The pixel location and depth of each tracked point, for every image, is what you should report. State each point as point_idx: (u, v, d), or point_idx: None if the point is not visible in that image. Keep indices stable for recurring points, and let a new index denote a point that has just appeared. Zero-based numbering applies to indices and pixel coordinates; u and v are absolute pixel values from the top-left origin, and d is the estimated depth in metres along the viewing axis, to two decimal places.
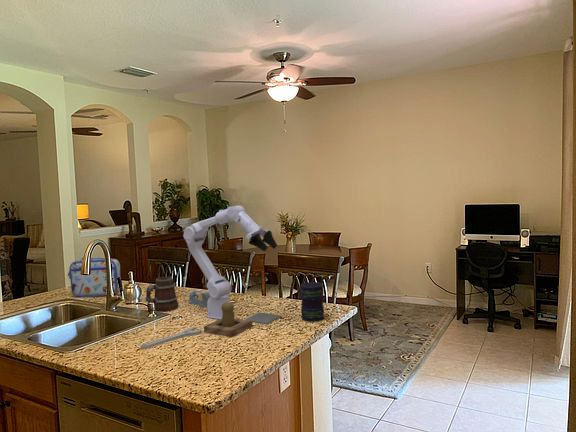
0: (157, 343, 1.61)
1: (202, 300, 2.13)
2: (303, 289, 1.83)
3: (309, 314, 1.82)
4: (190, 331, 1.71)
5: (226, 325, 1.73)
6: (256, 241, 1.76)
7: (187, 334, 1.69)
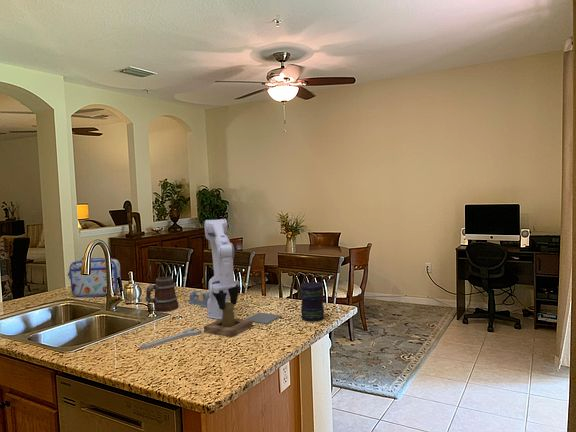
0: (157, 343, 1.60)
1: (202, 300, 2.12)
2: (303, 289, 1.83)
3: (309, 314, 1.82)
4: (190, 331, 1.71)
5: (226, 325, 1.73)
6: (220, 296, 1.71)
7: (187, 334, 1.69)
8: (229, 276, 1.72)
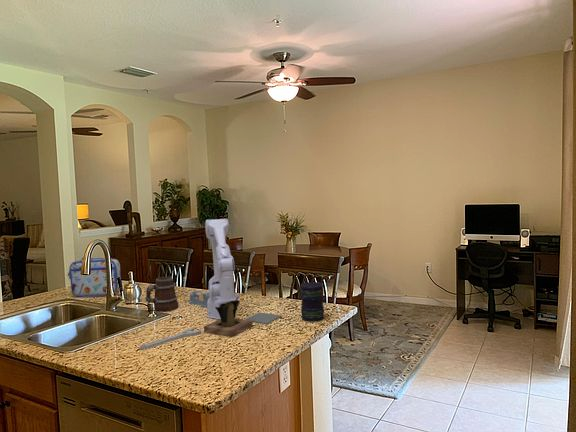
0: (156, 344, 1.60)
1: (203, 300, 2.12)
2: (303, 289, 1.83)
3: (309, 314, 1.82)
4: (189, 331, 1.71)
5: (226, 325, 1.73)
6: (222, 309, 1.72)
7: (186, 335, 1.69)
8: (229, 290, 1.72)
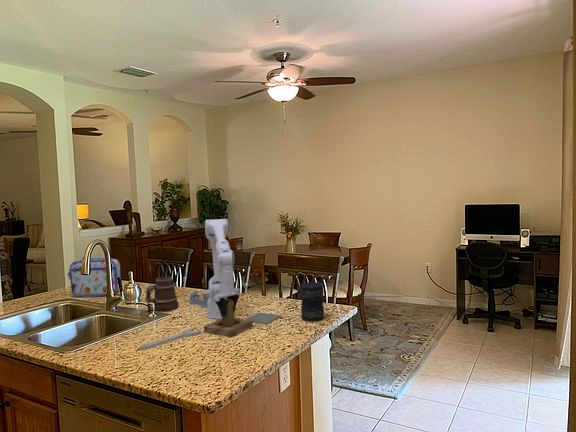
0: (156, 344, 1.60)
1: (203, 300, 2.12)
2: (303, 289, 1.83)
3: (309, 314, 1.82)
4: (189, 332, 1.70)
5: (226, 321, 1.73)
6: (221, 303, 1.72)
7: (186, 335, 1.68)
8: (229, 284, 1.72)
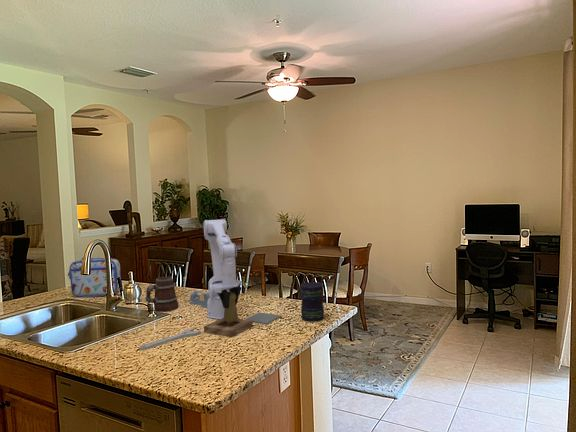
0: (156, 344, 1.60)
1: (203, 300, 2.12)
2: (303, 289, 1.83)
3: (309, 314, 1.82)
4: (189, 332, 1.70)
5: (228, 314, 1.73)
6: (223, 295, 1.73)
7: (186, 335, 1.68)
8: (231, 276, 1.73)
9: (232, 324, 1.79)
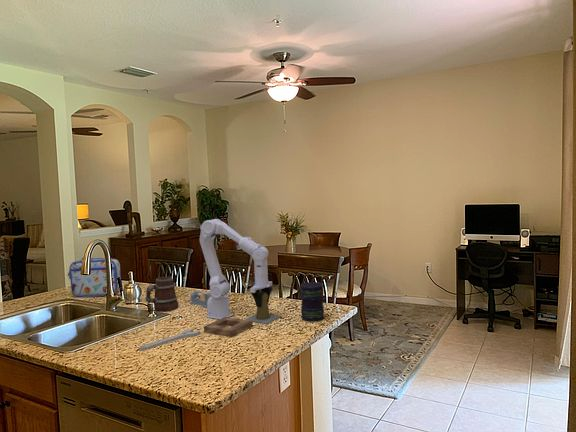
0: (155, 345, 1.59)
1: (204, 301, 2.12)
2: (303, 289, 1.83)
3: (309, 314, 1.82)
4: (189, 332, 1.70)
5: (262, 313, 1.86)
6: (257, 295, 1.85)
7: (186, 335, 1.68)
8: (264, 277, 1.85)
9: (232, 324, 1.79)
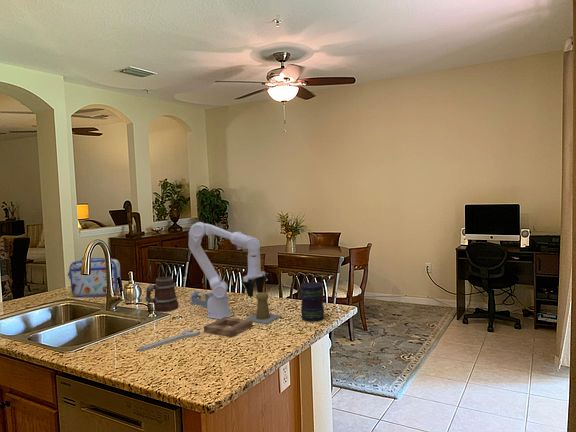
0: (155, 345, 1.59)
1: (205, 301, 2.11)
2: (303, 289, 1.83)
3: (309, 314, 1.82)
4: (188, 333, 1.69)
5: (262, 313, 1.86)
6: (248, 284, 1.91)
7: (185, 336, 1.67)
8: (257, 267, 1.91)
9: (232, 324, 1.79)
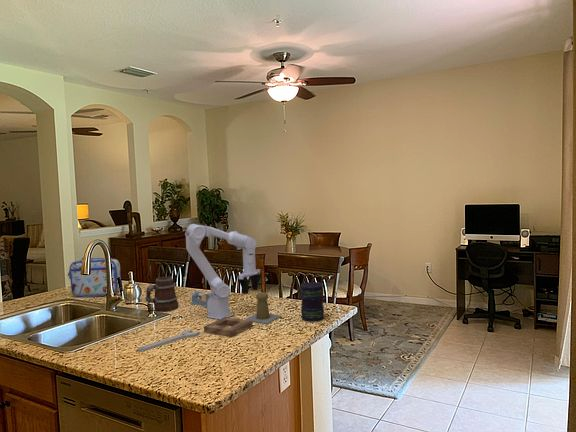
0: (155, 346, 1.58)
1: (205, 301, 2.11)
2: (303, 289, 1.83)
3: (309, 314, 1.82)
4: (188, 333, 1.69)
5: (262, 313, 1.86)
6: (244, 282, 1.96)
7: (185, 336, 1.67)
8: (252, 265, 1.97)
9: (232, 324, 1.79)
